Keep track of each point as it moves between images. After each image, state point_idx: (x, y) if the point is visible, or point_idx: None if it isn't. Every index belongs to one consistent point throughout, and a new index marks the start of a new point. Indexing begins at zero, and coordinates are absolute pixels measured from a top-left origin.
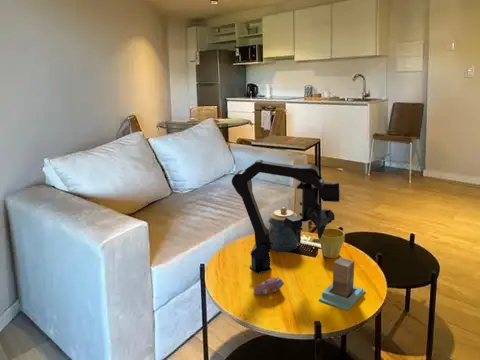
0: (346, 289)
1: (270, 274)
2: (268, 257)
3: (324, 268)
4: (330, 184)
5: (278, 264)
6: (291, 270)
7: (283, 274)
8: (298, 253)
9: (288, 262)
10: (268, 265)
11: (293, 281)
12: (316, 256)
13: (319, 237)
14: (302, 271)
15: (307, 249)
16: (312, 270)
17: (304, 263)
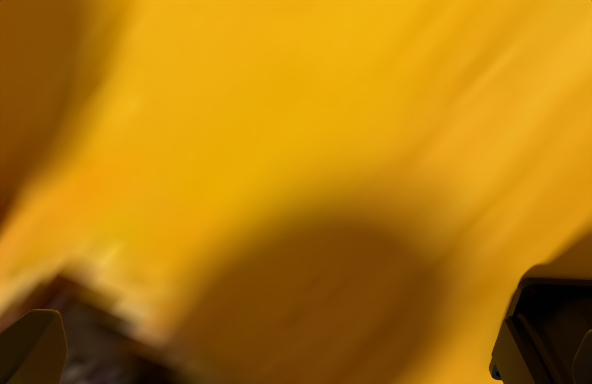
0: None
1: (587, 229)
2: (567, 379)
3: (109, 63)
4: None
5: (412, 312)
6: (402, 194)
7: (509, 176)
8: (161, 364)
9: (325, 301)
10: (535, 320)
11: (547, 26)
12: (50, 269)
13: (54, 333)
14: (336, 131)
15: None
16: (242, 96)
17: (222, 229)
